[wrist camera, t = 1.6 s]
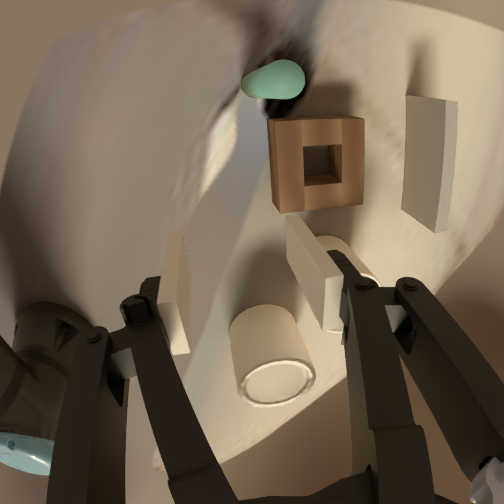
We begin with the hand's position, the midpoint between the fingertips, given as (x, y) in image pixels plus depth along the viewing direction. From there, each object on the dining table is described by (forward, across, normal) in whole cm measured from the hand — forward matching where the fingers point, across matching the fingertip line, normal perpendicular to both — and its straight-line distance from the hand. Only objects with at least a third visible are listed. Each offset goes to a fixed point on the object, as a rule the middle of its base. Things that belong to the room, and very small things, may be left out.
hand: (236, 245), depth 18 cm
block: (+20, +11, 0) cm, 23 cm away
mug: (+20, +3, -26) cm, 33 cm away
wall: (+20, +26, 0) cm, 32 cm away
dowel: (+20, +5, +9) cm, 22 cm away
